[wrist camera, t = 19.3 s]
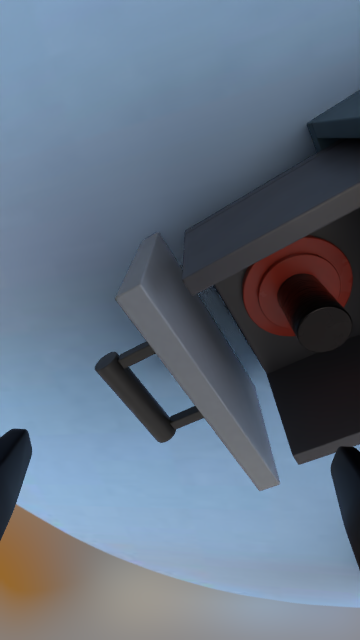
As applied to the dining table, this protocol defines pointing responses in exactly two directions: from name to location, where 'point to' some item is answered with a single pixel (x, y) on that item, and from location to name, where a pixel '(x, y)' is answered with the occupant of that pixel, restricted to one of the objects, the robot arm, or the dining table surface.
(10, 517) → the robot arm
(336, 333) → the lid
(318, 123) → the cabinet
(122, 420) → the dining table surface
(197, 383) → the drawer
